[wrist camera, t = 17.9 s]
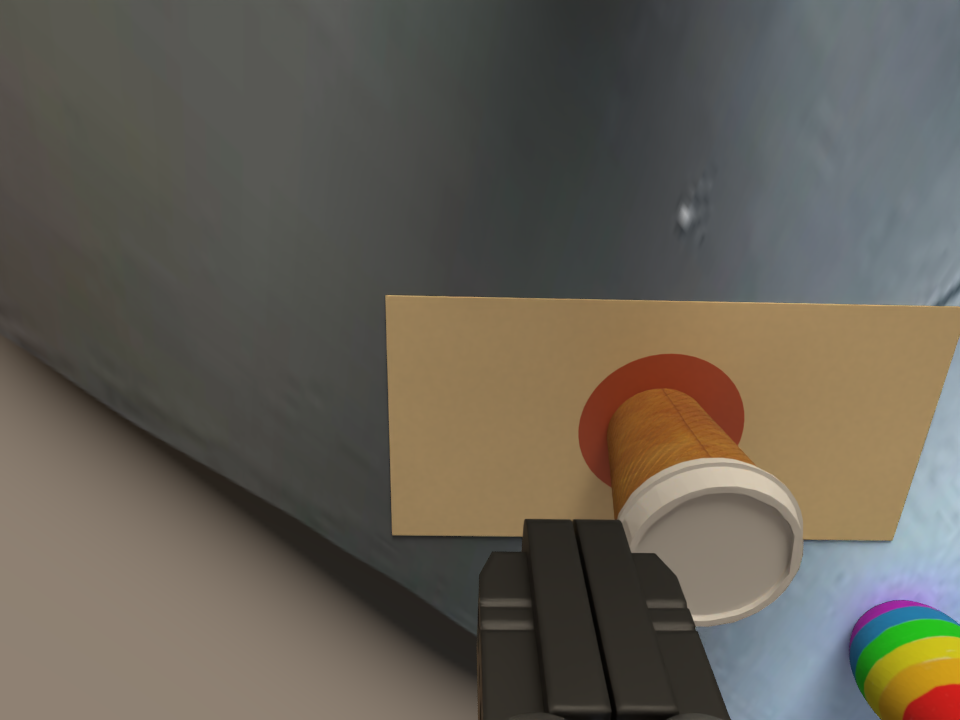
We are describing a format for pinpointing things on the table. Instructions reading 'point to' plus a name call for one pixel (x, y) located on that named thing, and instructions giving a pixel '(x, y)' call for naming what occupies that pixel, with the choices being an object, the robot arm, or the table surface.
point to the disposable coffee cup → (701, 507)
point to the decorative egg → (907, 661)
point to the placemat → (645, 366)
